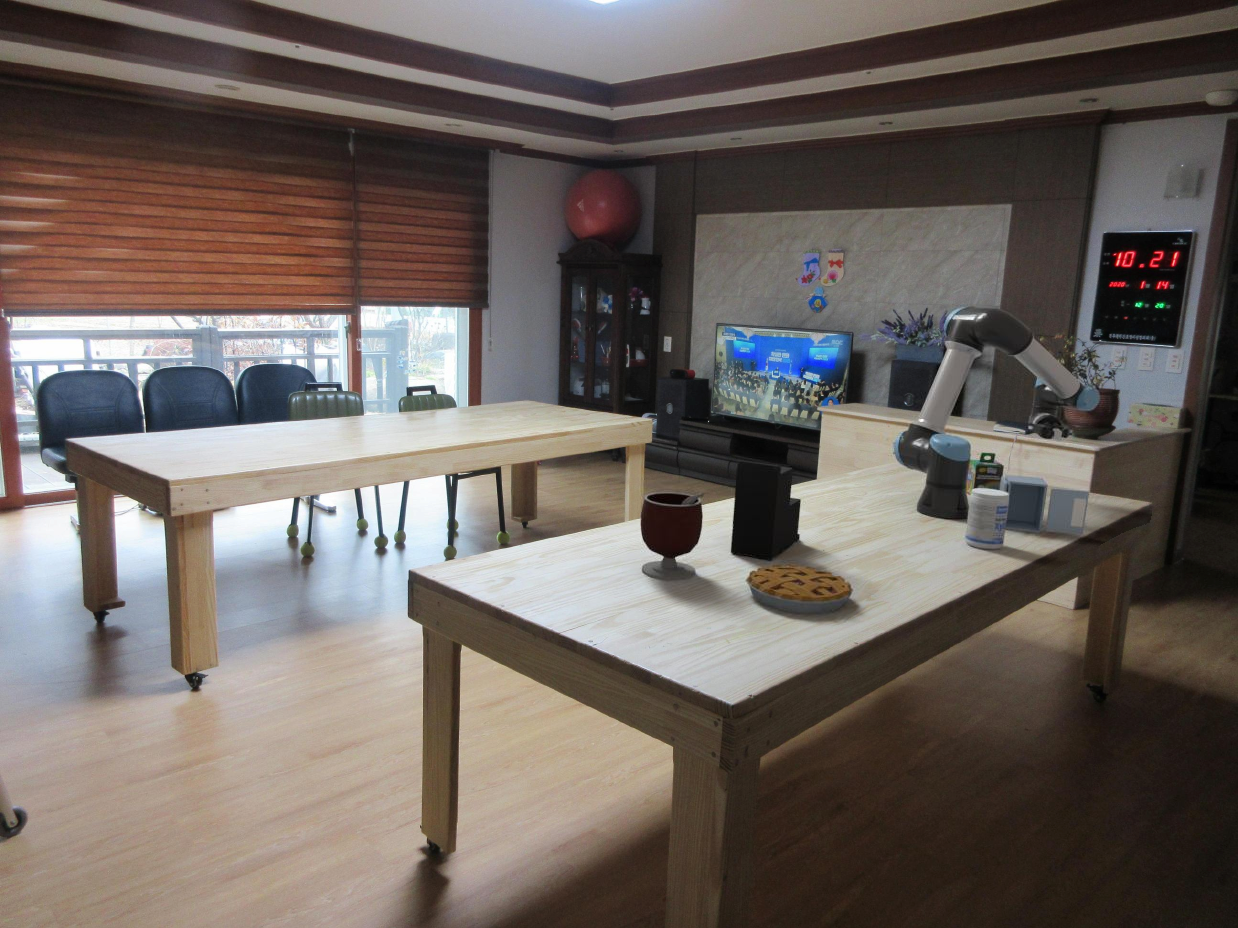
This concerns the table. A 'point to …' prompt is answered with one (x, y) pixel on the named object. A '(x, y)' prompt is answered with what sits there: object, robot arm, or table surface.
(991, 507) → the supplement tub
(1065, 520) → the right flap
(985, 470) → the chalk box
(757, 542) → the black stepped block
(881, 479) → the table surface
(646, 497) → the mate gourd
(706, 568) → the table surface
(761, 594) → the pie
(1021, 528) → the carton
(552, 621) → the table surface
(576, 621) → the table surface
